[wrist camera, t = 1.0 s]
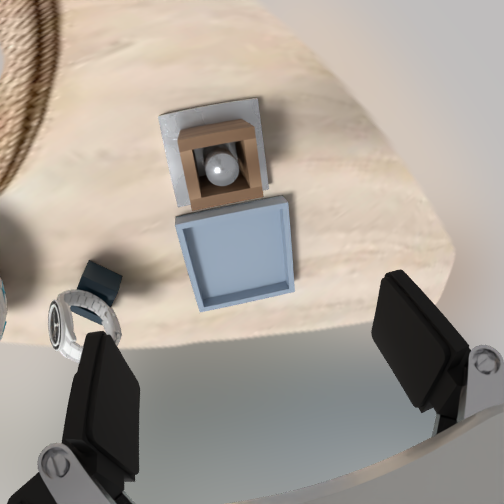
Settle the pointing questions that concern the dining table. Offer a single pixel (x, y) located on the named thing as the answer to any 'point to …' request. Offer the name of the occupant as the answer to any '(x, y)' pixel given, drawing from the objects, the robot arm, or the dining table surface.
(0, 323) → the puzzle ball
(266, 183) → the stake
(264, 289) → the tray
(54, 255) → the dining table surface
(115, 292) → the watch
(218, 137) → the collar
